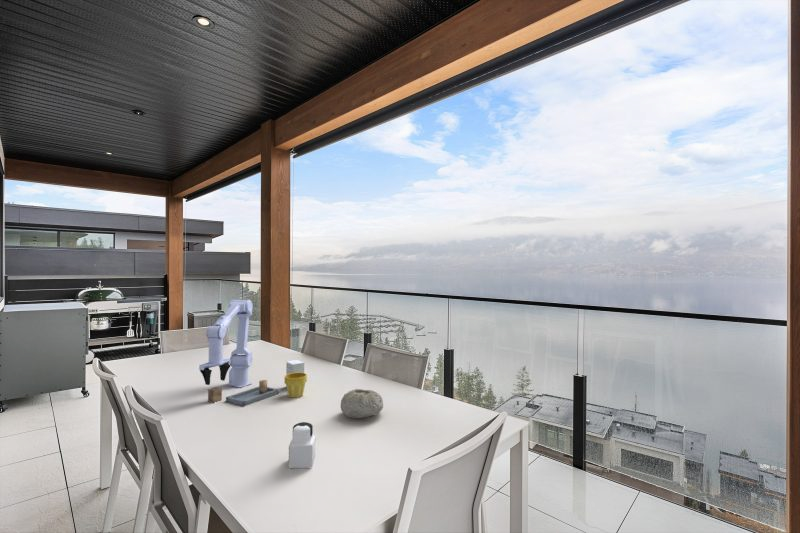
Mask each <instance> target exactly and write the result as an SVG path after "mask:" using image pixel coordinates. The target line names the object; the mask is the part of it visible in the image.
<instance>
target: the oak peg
mask: <svg viewBox="0 0 800 533" xmlns="http://www.w3.org/2000/svg"><path fill="white" fill-rule="evenodd" d="M258 385H259V393H260V394H264V393H267V387H268V380H267V379H263V380H262V379H261V380H259V383H258Z"/></svg>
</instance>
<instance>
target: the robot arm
mask: <svg viewBox="0 0 800 533" xmlns="http://www.w3.org/2000/svg"><path fill="white" fill-rule="evenodd" d="M228 304H229V305H228V309H227V311H226V312H225V314H224V315H221V316H219V317H218V319H217V320H216V321H215V323H214V324H213V325H210V326H208V327H207V329H206V333H205V337H206V338H207V343H208V362H205V363H202V364H199V368H198V369H199V372H200V373H201V376H202V377H203V380H204V383H205V385H207V386H210V385H211V376H212V371H213V370H212V369H211V368H214V367H219V376H220V378H219V380H220V381H223V382H224V381H226V377H227V373H228V383H227V384H226V385H227V386H231V387H235V388H242V387H243V388H244V387H246V386H249V385H252V384H253V382H250V381H249V368H250V367H251V366H252V364H253V355H252V354H253V352H252V351H251V350H249V349H248V337H249V327H250V325H249V324H250V317H251V316H252V315H253V306H254V304H253V302H252V301H251V300H250V299H231V300H230V302H229V303H228ZM235 316H237V318H238V324H237V335H236V336H237V337H236V348H235V349H234V350H232V351H231V354H230V358H224V359H223V357H224V356H223V352H224V350H223V347H224V346H223V345H224V344H223V343H224V342H223V341H224V338H225V336H226V333H227V329H228V328H229V327H230V325H232V319H233V318H234V317H235Z"/></svg>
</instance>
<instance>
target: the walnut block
mask: <svg viewBox="0 0 800 533" xmlns="http://www.w3.org/2000/svg"><path fill="white" fill-rule="evenodd" d="M222 399H223V389H222V387H217V386H216V387H212V388H209V389H208V390H207V402H209V403H211V402H212V404H215V402H216V403H219V402H221V400H222ZM218 401H219V402H218ZM222 401H223V400H222Z"/></svg>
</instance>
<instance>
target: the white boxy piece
mask: <svg viewBox="0 0 800 533" xmlns="http://www.w3.org/2000/svg"><path fill="white" fill-rule="evenodd" d="M313 427H314V426H313V424H311V423H310V422H307V421H306V422H305V421H302V422H298V423H296V424H293V427H292V437H291V440H290V442H289V445H288V469H289V468H297V469H307V468H306V467H312V468H313V466H314V462H315V459H316V438H317V437H316V435H314V434H313V431H314V430H313V429H314V428H313Z"/></svg>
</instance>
